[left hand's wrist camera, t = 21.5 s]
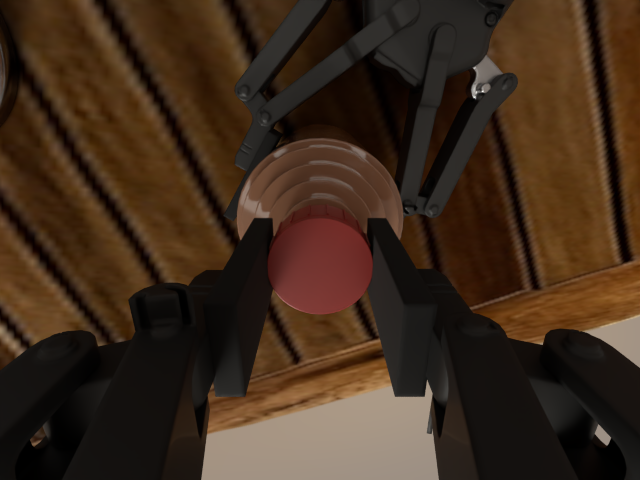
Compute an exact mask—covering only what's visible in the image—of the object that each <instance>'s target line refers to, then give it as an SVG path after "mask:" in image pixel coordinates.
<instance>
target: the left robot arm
mask: <svg viewBox="0 0 640 480" xmlns="http://www.w3.org/2000/svg"><path fill="white" fill-rule="evenodd" d="M17 83H18V70H17V61H16V55H15V50H14V46H13V43H12V39H11V36H10V34H9V31H8V28H7V26H6V24H5V21H4V19H3V17H2V15H1V13H0V127H1V126H2V124H3V123H4V122H5V120H6V119H7V117H8V116H9V114H10V112H11V109H12V107H13V104H14V101H15V97H16V92H17ZM273 236H274V233H273V218H254V219H253V221H252V222H251V224H250V226H249V227H248V229H247V231H246V232H245V234H244V236H243V237H242V239H241V241H240V242H239V244H238V246H237V247H236V249H235V251H234V252H233V254H232V256H231V258H230V259H229V261H228V263H227V264H226V266H225V268H224V269H223V270H206V271H204V272H202V273H201V274H199V275H198V276H196V277H195V278H194V279H193V280H192V282H191V283H190V284H189V286H187V285H185V284H181V283H163V284H157V285H153V286H150V287H147V288H144V289H142V290H140V291H138V292H137V293H135V294H134V295H133V296H132V297H131V298H130V299H129V305H130V309H131V314H132V318H133V322H134V327H135V331H136V332H135V334H134V336H133V338H132V340H128V341H124V342H119V343H114V344H108V345H103V346H98V345H97V341H96V338H95V336H94V335H93V334H92V333H91V332H88V331H82V330H78V331H66V332H62V333H58V334H54V335H52V336H51V337H48V338H46V339H44V340H41V341H39V342H38V343H36V344H35V345H33V346H32V347H30V348H28V349H27V350H26V351H25V352H23V353H22V354H21V355H20V356H18V357H17V358H16V359H14V360H13V361H12V362H11V363H9V364H8V365H7V366H5V367H4V368H3V369H2V370H0V480H201V477H202V468H203V460H204V452H205V444H206V436H207V428H208V420H209V412H210V409H209V402H208V393H209V390H210V388H211V385H212V382H213V381H214V388H215V396H216V397H245V396H246V392H247V388H248V384H249V380H250V376H251V372H252V368H253V365H254V361H255V357H256V353H257V349H258V345H259V341H260V337H261V334H262V330H263V326H264V322H265V318H266V314H267V310H268V306H269V303H270V299H271V295H272V291H273V287H272V285H271V283H270V281H269V277H268V264H267V259H268V254H269V251H270V250H268V249H269V246H270V243H271V240H272V238H273ZM367 237H368V240H369V242H370V245H371V247H370V250H371V253H372V257H373V268H372V278H371V282H370V284H369V286H368V288H367V290H368V294H369V298H370V302H371V306H372V309H373V313H374V317H375V321H376V325H377V329H378V333H379V337H380V340H381V344H382V348H383V352H384V356H385V360H386V364H387V368H388V371H389V375H390V379H391V383H392V387H393V391H394V395H395V397H424V396H425V390H426V383H427V380H428V383H429V385H430V388H431V390H432V393H433V395H432V402H431V409H430V415H429V422H428V428H427V433H429V434H432V428H433V435H434V443H435V451H436V459H437V468H438V476H439V480H640V368H639V367H638V366H637V365H635V364H634V363H633V362H631V361H630V360H629V359H628V358H626V357H625V356H624V355H622V354H621V353H620V352H619V351H617V350H616V349H615V348H613V347H612V346H610V345H609V344H607V343H606V342H604V341H602V340H601V339H599V338H596V337H594V336H592V335H590V334H588V333H585V332H582V331H580V332H579V331H578V330H573V329H571V330H570V329H555V330H551V331H549V332H548V333H547V334H546V335H545V339H544V342H543V345H540V344H535V343H530V342H524V341H519V340H515V339H511V338H508V337H507V335H506V333H505V331H504V330H503V329H502V328H501V326H500V325H499V324H498V323H496V322H494V321H493V320H491V319H490V318H487V317H485V316H482V315H480V314H475V313H473V312H472V311H471V310H470V308H469V307H468V305H467V304H466V303H465V301H464V300H463V299H462V297H461V296H460V295H459V293H457V291H456V289H455V288H454V287H453V286H452V284H451V283H450V281H449V280H448V279H447V277H446V276H445V275H443V274H441V273H440V272H438V271H437V270H435V269H416V267H415V266H414V264H413V262H412V260H411V259H410V257H409V255H408V254H407V252H406V250H405V249H404V247H403V245H402V244H401V242H400V240H399V239H398V237H397V235H396V234H395V232H394V230H393V229H392V227H391V225H390V223H389V222H388V220H387V218H367ZM598 424H599V425H600V426H601V427H602V428H603V429H604V430H605V431H606V432H607V434H608V435H609V436H610V437H611V440H610V442H609V444H608V445H607V446H606V445H605V444H604V443H603V442H602V441H600V439H599V438H598V437H597V436H596V435H595V431H596V429H597V426H598ZM42 426H43V428H44V430H45V433H46V436H45V437H44V438H43V440H42V441H41V442H40V443H38V444H37V445H36V446H35V447H33V446H32V444H31V441H30V439H31V438H32V437H33V436H34V434H35V433H36V432H37V431H38V430H39V429H40V428H41V427H42Z"/></svg>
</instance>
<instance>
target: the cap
mask: <svg viewBox="0 0 640 480" xmlns="http://www.w3.org/2000/svg"><path fill="white" fill-rule="evenodd" d="M370 247H371V245H370V242H369V240H368V237H367V234H366V233H364V231H363V229H362V227H361V226H360V224H359V221H358V219H357V220H356V219H355V218H353V217H352V216H351V215H350V214H348V213H347V212H345V209H343V210H341V209H339V208H336V207H333V206H328V204H326V205H312V206H311V204H310V205H308V206H307V207H304V208H301V209H299V210H297V211H292V214H290V215H289V216H288V217H287V218H286V219H285V220H284V221H283V222H280V224H279V227H278V230H277V232H276V234H275V236H273V238H272V240H271V243H270V246H269V249H268V250H270V251H269V254H268V259H267V264H268V277H269V281H270V283H271V285H272V287H273V289H274V291H275V292H276V293H277V295H278V296H279V297H280V298H281V299H282V300H283V301H284V302H286V303H287V304H288V305H290V306H292V307H293V308H295V309H298V310H300V311H303V312H306V313H312V314H328V313H334V312H337V311H340V310H343V309H345V308H347V307H349V306H351V305H352V304H353V303H355V302H356V301H357V300H358V299H359V298H360V297H361V296H362V295H363V294H364V293H365V291H366V289H367V288H368V286H369V284H370V282H371V278H372V268H373V257H372V253H371V250H370Z"/></svg>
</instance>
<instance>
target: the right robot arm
mask: <svg viewBox="0 0 640 480" xmlns="http://www.w3.org/2000/svg"><path fill="white" fill-rule="evenodd" d="M334 1H337V2H341V1H343V0H334ZM513 1H514V0H362V9H363V29H362V30H361V31H360V32H358V33H357V34H356V35H354V36H353V37H352V38H350V39H349V40H348V41H347V42H346V43H345V44H344V45H342V46H341V47H340V48H338V49H337V50H336V51H335V52H333V53H332V54H331V55H329V56H328V57H327V58H325V59H324V60H323V61H321V62H320V63H319V64H317V65H316V66H315V67H313V68H312V69H311V70H309V71H308V72H307V73H305V74H304V75H303V76H301V77H300V78H299V79H297V80H296V81H295V82H293V83H292V84H291V85H290V86H288V87H287V88H286V89H284V90H283V91H282V92H280V93H279V94H278V95H276V96H275V97H274V98H272V99H271V100H270V101H269V100H268V99H267V97H266V96H265V95H264V94H263V93H264V91H265V90H266V89H267V87H268V86H269V85H270V84H271V82H272V81H273V80H274V79H275V77H276V76H277V75H278V73H279V72H280V71H281V70H282V68H283V67H284V66H285V64H286V63H287V62H288V61H289V59H290V58H291V57H292V55H293V54H294V53H295V52H296V50H297V49H298V48H299V47H300V45H301V44H302V43H303V41H304V40H305V39H306V38H307V36H308V35H309V34H310V32H311V31H312V30H313V29H314V27H315V26H316V25H317V23H318V22H319V21H320V20H321V18H322V17H323V16H324V14H325V13H326V11H327V10H328V8H329V6H330V4H331V2H332V0H299V1H298V2H297V3H296V5H295V6H294V7H293V9H292V10H291V11H290V13H289V14H288V15H287V17H286V18H285V19H284V21H283V22H282V23H281V25H280V26H279V27H278V29H277V30H276V31H275V33H274V34H273V35H272V37H271V38H270V39H269V41H268V42H267V43H266V45H265V46H264V47H263V49H262V50H261V51H260V53H259V54H258V55H257V57H256V58H255V59H254V61H253V62H252V63H251V65H250V66H249V67H248V69H247V70H246V71H245V73H244V74H243V75H242V77H241V78H240V79H239V81H238V82H237V84H236V86H235V93H236V96H237V97H238V98H239V99H240V100H242V101H243V103H244V104H245V105H246V106H247V107H248V109H249V110H250V112H251V114H252V117H253V121H252V124H251V127H250V129H249V130H248V132H247V134H246V136H245V138H244V140H243V142H242V144H241V146H240V148H239V150H238V152H237V154H236V156H235V165H236V166H238V167H240V168H242V169H243V170H245V171H247V172H246V174H245V176H244V178H243V180H242V182H241V183H240V185H239V187H238V189H237V191H236V193H235V195H234V197H233V199H232V201H231V202H230V204H229V206H228V208H227V210H226V212H225V214H224V216H225V217H227V218H229V219H230V220H232V221H234V220H235V218H236V217H237V208H238V202H239V198H240V195H241V191H242V189H243V187H244V184H245V182H246V180H247V179H248V177H249V175H250V174H251V172H252V171H253V170H254V169H255V167H256V166H257V165H258V164H259V163H260V162H261V161H262V160H263V159H264V158H265V157H266V156H267V155H268V154H270V153H271V152H272V151H273V150H274V149H275V148H276V146H277V144H278V142H279V140H280V139H281V137H282V135H283V134H281V133H280V132H278V131H277V130H275V129H273V128H274V126H275V124H276V123H277V122H278V121H280V120H281V119H282V118H284V117H285V116H286V115H288V114H289V113H291V112H292V111H293V110H295V109H296V108H297V107H299V106H300V105H301V104H303V103H304V102H306V101H307V100H308V99H310V98H311V97H312V96H314V95H315V94H316V93H318V92H319V91H320V90H322V89H323V88H325V87H326V86H327V85H329V84H330V83H331V82H333V81H334V80H335V79H337V78H338V77H339V76H341V75H342V74H344V73H345V72H346V71H348V70H349V69H350V68H352V67H353V66H355V65H356V64H358V63H359V62H360V61H362V60H363V59H364V58H366V57H367V56H368V58H369V59H370V61H369V62H370V63H371V64H373V65H374V66H376V67H377V68H379V69H382V70H385V71H388V72H390V73H391V74H392V75H393V76H394V78H395V79H396V80H397V81H398V82H399V83H400V84H402V85H403V86H404V87H406V88H407V89H408V88H410V92H409V98H408V112H407V117H406V123H405V128H404V133H403V138H402V144H401V149H400V154H399V159H398V165H397V170H396V175H395V181H394V182H395V184H396V186H397V188H398V191H399V194H400V197H401V201H402V206H403V219H404V218H405V217H406V216H412V215H414V214H415V213H419V214H424V215H427V216H429V217H431V218H434V217H437V216H439V215H440V214H441V213H442V211H443V209H444V207H445V205H446V203H447V201H448V199H449V197H450V195H451V193H452V191H453V189H454V187H455V185H456V183H457V181H458V179H459V178H460V176H461V174H462V172H463V170H464V168H465V166H466V164H467V162H468V160H469V158H470V156H471V154H472V152H473V150H474V148H475V146H476V144H477V142H478V140H479V139H480V137H481V135H482V133H483V131H484V129H485V127H486V125H487V123H488V121H489V119H490V117H491V115H492V113H493V112H494V111H495V110H496V109H497V108H498V107H499V106H500V105H501V104H502V103H503V102H504V101H505V100H506V98H507V97H508V96H509V95H510V94H511V93H512V92H513V91H514V90H515V88H516V87H517V84H518V79H517V77H516V75H514V74H513V73H505V74H503V73H502V72H501V71H500V70H499V69H498V67H497V66H496V65H495V64H494V63H493V62H492V61H491V60H490V59H489V57H488V56H487V55H486V54H487V51H488V47H489V41H490V38H491V35H492V32H493V30H494V28H495V27H496V25H497V24H498V22H499V21H500V20H501V18H502V17H503V15H504V14H505V12H506V11H507V9H508V8H509V7H510V5H511V4H512V2H513ZM466 70H468V71H469V72H470V81H469V83H468V85H467V87H466V95H467V99H466V100H465V101H464V103H463V104H462V106H461V107H460V109H459V111H458V113H457V115H456V117H455V119H454V121H453V123H452V125H451V127H450V130H449V132H448V134H447V136H446V138H445V140H444V142H443V144H442V146H441V148H440V150H439V153H438V155H437V157H436V159H435V161H434V163H433V165H432V167H431V169H430V171H429V174H428V176H427V178H426V180H425V182H424V184H423V186H422V188H421V190H420V192H419V188H420V184H421V179H422V175H423V170H424V166H425V161H426V156H427V152H428V147H429V143H430V138H431V133H432V129H433V124H434V120H435V115H436V111H437V109H438V107H439V106H440V103H441V100H442V95H443V91H444V86H445V82H446V79H448V78H451V77H453V76H455V75H457V74H460V73H462V72H464V71H466Z"/></svg>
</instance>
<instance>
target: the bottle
mask: <svg viewBox="0 0 640 480" xmlns="http://www.w3.org/2000/svg"><path fill="white" fill-rule="evenodd" d="M310 204H311V206H312V205H326V204H328V206H333V207H336V208H339V209H341V210H343V209H345V212H347V213H348V214H350V215H351V216H352V217H353V218H355V219H356V220H357V219H358V221H359V224H360V226H361V227H362V229H363V231H364V233H366V234H367V218H387V220H388V222H389V223H390V225H391V227H392V229H393V230H394V232H395V234H396V235H397V237H398V239H399V240H400V238H401V233H402V228H403V206H402V201H401V197H400V194H399V191H398V188H397V186H396V184H395V182H394V180H393V178H392V176H391V175H390V174H389V172H388V171H387V170H386V168H385V167H384V166H383V165H382V164H381V163H380V162H379V161H378V160H377V159H376V158H375V157H374V156H373V155H372V154H371V153H370V152H369V151H367V150H366V149H365V148H364V147H363V146H362V145H361V144H360V143H359V142H358V141H357V140H355V139H354V138H353V137H352V136H351V135H350V134H348V133H347V132H346V131H344V130H342V129H340V128H338V127H335V126H331V125H326V124H314V125H308V126H305V127H302V128H300V129H298V130H296V131H295V132H293V133H292V134H290V135H289V136H288V137H287V138H286V139H285V140H284V141H283V142H281V143H280V144H279V145H278V146H277V147H276V148H275V149H274V150H273V151H272V152H271V153H270V154H268V155H267V156H266V157H265V158H264V159H263V160H262V161H261V162H260V163H259V164H258V165H257V166H256V167H255V169H254V170H253V171H252V172H251V174H250V175H249V177H248V179H247V180H246V182H245V184H244V187H243V189H242V191H241V195H240V198H239V202H238V208H237V226H238V233H239V236H240V240H241V239H242V237H243V236H244V234H245V232H246V231H247V229H248V227H249V226H250V224H251V222H252V221H253V219H254V218H273V233H274V236H275V234H276V232H277V230H278V227H279V224H280V222H283V221H284V220H285V219H286V218H287V217H288V216H289V215H290V214H292V211H297V210H299V209H301V208H304V207H307V206H308V205H310Z"/></svg>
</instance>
